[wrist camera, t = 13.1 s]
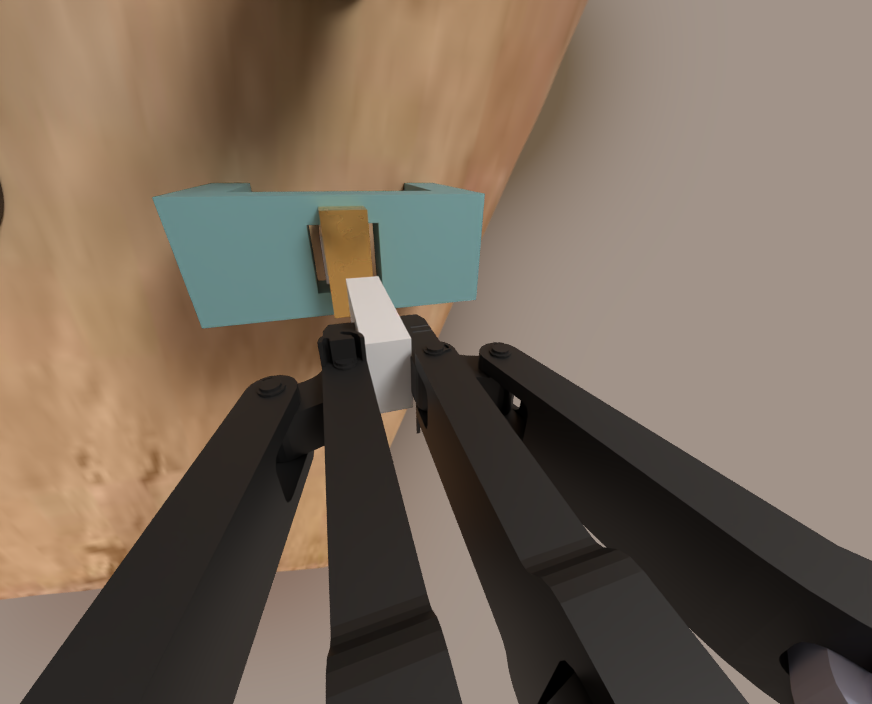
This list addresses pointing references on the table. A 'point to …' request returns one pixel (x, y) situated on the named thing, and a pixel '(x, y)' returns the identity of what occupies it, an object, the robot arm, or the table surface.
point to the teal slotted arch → (293, 255)
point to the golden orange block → (344, 250)
